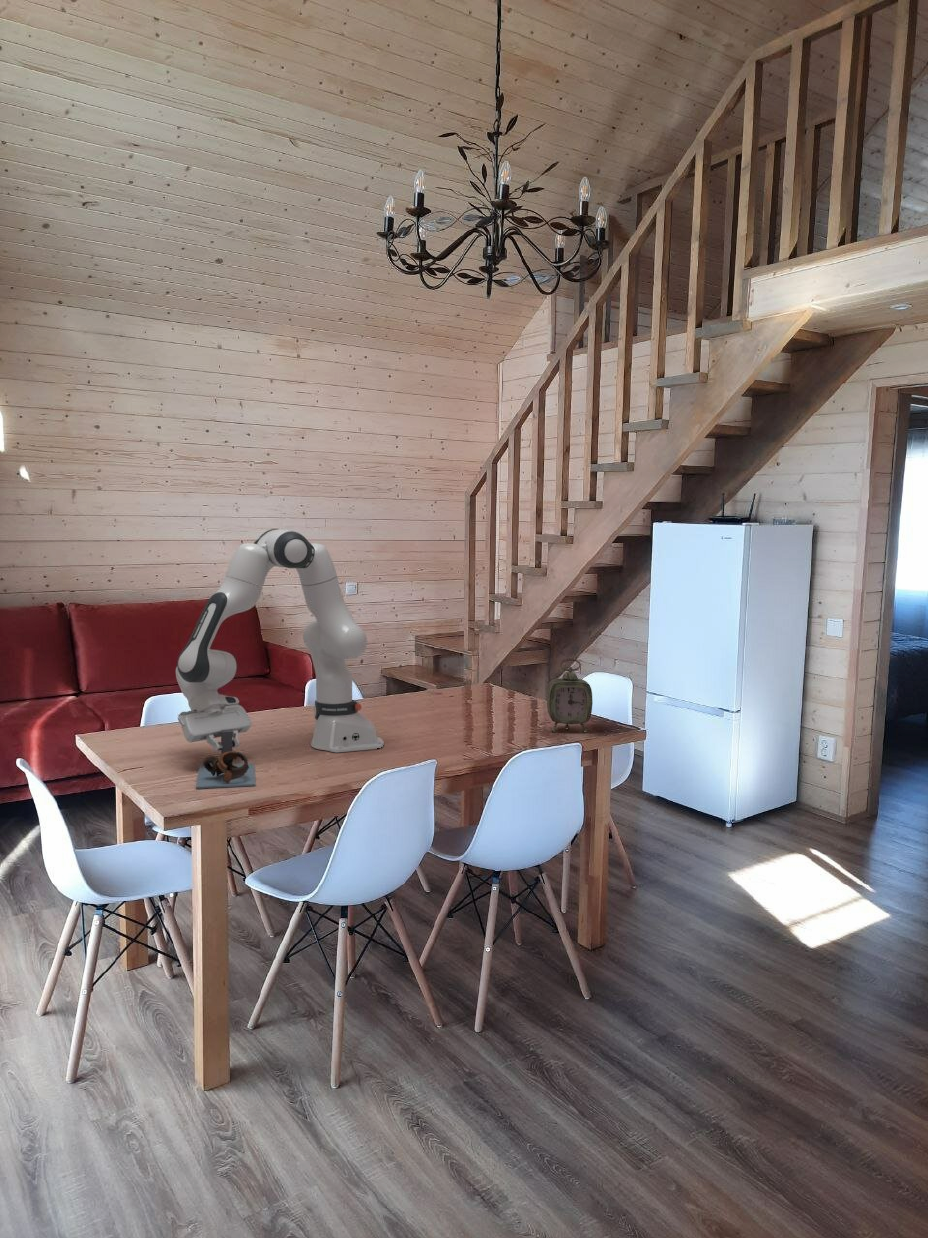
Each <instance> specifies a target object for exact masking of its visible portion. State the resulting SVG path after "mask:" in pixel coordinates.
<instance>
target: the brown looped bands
mask: <svg viewBox="0 0 928 1238" xmlns="http://www.w3.org/2000/svg"><path fill="white" fill-rule="evenodd" d="M238 758H240V759H241V761H243V762H244V765H243V766H241V767H239V768H238V767H237V766H234V765H232V761H234V760H237V759H238ZM202 763H203V764H202V765H204V767H205V768H206V769H207V770H208V771H209V772H211V774H212V775H213V776H215V773H216V776H218V775H220V774H221V773H225V776H224V778H223V781H224V782H226V783H229V782H230V781H231V779H232V780H233V779H236V778H238V777H241V776H243V775H245V773H246V772H247V770H248V769H249V765H248V763H249V760H248V758H247V756H246V755H245V754H243V753H242V752H239V751H233V750H232V751H230V752H229V751H228V752H225V753H223V754H222V755H220V756H219V757H215V756H206V757H205V758H204V760H203V761H202ZM211 765H212V766H213V767H212V766H211Z"/></svg>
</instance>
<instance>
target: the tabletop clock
mask: <svg viewBox="0 0 928 1238" xmlns="http://www.w3.org/2000/svg"><path fill="white" fill-rule="evenodd" d="M566 661H568V662H569V661H572V662H576V663H577V664H578V667H575V668H572V666H569V667H568V668H565V667H563V665H562V664H563V663H564V662H566ZM559 667H560V669H562V670H564V671H565V672H564V673H563V674H562V677H561V678H555V679H552V680H550V681H549V684H548V688H547V692H546V707H547V713H548V716H549V718H550V719H551V721H552V722H553V723H554V726H553V727H552V728H551V729H550V732H552V731H553V732H552V733H556V732H557V729H556V728H557V726H558V724H563V725H565V726H564V729H565V728H569V729H570V726H569V725H578V724H579V725H580V726H581V728H582V732H583V731H587V732H588V728H586V727H585V726H584V725H585V723H588V722H589V721H590V719H591V717H592V713H593V712H592V711H593V702H594V701H593V691H592V687H591V685H590V683H588V681H587V680H585V679H581V678H578V675H577V674H576V673H575V671H578V670H579V669H581V662H580V661H579V660H578V659H576V658H565V659H563V660H561V662H560V663H559Z"/></svg>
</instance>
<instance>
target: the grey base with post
mask: <svg viewBox="0 0 928 1238" xmlns="http://www.w3.org/2000/svg"><path fill="white" fill-rule="evenodd" d="M232 740H233V737H232V729H227V730H221V737H220V742H221V745H222V746H223V748H222V749H221V750H220V754H221V755H222V754H223V753H225V752H228V751H229V752H230V751H233V747H232ZM221 755H220V756H221ZM233 761H234V760H233ZM233 761H232V765H234V766H237V767H238V768H239V767H241V766H243V765H244V763H243V762H242V763H233ZM210 765H211V766H212V764H210ZM248 765H249V769H248V770H247V772H246V773H245V775H243V776H241V777H238V778H236V779H233V780H232V779H231V781H230V782H229V783H226V782H224V781H223V778H224V776H225V773H221V774H220V775H218V776H216V773H215V776H213V775H212V774H211V772H209V771H208V770H207V769H206V768H205V767H204V764H200V765H199V766H198V771H197V772H198V773H197V779H196V784H195V789H196V790H200V789H201V790H202V789H222V788H223V789H224V788H241V787H256V773H255V772H256V770H255V768H256V767H255V762H248ZM212 767H213V766H212Z"/></svg>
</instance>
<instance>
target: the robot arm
mask: <svg viewBox="0 0 928 1238" xmlns="http://www.w3.org/2000/svg"><path fill="white" fill-rule="evenodd" d="M274 567H278V568H286V569H295V570H296V572H297V574H298V576H299V582H300V585H301V588H302V592H303V596H304V600H305V603H306V604H305V605H306V607H307V609H308V610H309V612H310V613H311V614H312V615H313V616H314V618H315V619H316V620H313V621H309V623H308V624H307V625H306V626H305V628H304V630H303V634H302V640H303V643H304V644H305V645H304V646H306V648H307V649H308V651H309V653H310V657H311V660H312V664H313V669H314V673H315V684H316V685H315V689H316V690H315V691H316V693H315V697H316V699H315V701H314V706H313V707H314V713H313V714H314V719H315V723H314V730H313V736H312V740H311V742H310V746H311V748H313V749H317V750H323V751H328V752H332V753H345V752H348V753H349V752H356V751H357V752H359V751H368V750H369V751H370V750H377V748H380V749H382V748H383V747H384V746H383V745H384V744H385V743H384V740H383V738H381V737H380V736H377V730H376V726H375V724H374V723H373V722H372V721H371V720H370V719H368V718H367V717H366V716H364V714H362V713H360V712H359V711H362V705H361V704H360V703H359V702H358V701H356V700H354V699H353V675H352V673H351V671H350V670H349V669H348V666H347V664H346V660H351V659H355V658H356V659H357V658H359V657H360V656H362V655H363V654H364V652H366V651H365V650H366V649H367V645H368V637H367V634H366V632H365V630H363V629H362V628H361V627H360V626H359V625H358V623H357V622H356V620H355V619H354V617H353V615H352V613H351V611H350V609H349V608H348V606H347V604H346V601H345V599H344V597H343V593H342V590H341V587H340V586H341V585H340V581H339V579H338V575H337V574H338V573H337V571H336V568H335V565H334V561H333V559H332V558H331V555H330V553H329V550H328V548H327V547H326V546H325V545H324V544H321V543H317V542H312V543H311V542H310V541H309V540H308V539H307V537H305V536H304V535H302V534H301V533H299V532H297V531H294V530H291V529H285V528H281V529H279V528H271V529H267V530H266V531H265V532H263V533H262V534H261V535H260V536H259V537H258V538H257V539H256V540H255V541H254V542H246V543H241V544H240V545H239V546H238V547H237V548H236V550H235V552H234V553H233V556H232V558H231V560H230V562H229V564H228V567H227V570H226V573H225V575H224V579H223V581H222V583H221V585H220V587H219V588H218V589H217V591H215V593H214V594H212V595H211V596H210V597H209V599H208V601H207V602H206V604H205V606H204V608H203V609H202V612H201V614H200V616H199V618H198V620H197V623H196V625H195V626H194V629H193V631H192V633H191V635H190V637H189V639H188V642H186V645H185V646H184V648H183V649H182V650H181V651H180V654H179V656H178V657H177V660H176V661H177V662H176V667H175V678H176V681H177V684H178V687H179V688H180V690H181V693H182V694H183V696H184V697H185V698H186V699H187V701H188V703H187V704H188V707H189V708H190V710H187V711H181V712H180V713H179V714H178V715H177V720H178V723H179V724H180V726H181V729H182V733H183V736H184V738H185V740H186V741H187V742H188V743H195V742H196V743H197V742H200V741H206V742H207V744H209V745H210V746H212V747H213V749H214V750H215V752H219V751H221V749H222V748H223V746H222V745H221V741H219V742H218V741H217V740H216V739H217V738H221V730H227V729H232V748H236V747H239V746H240V741H239V739H238V738H239V734H241V733H247V732H248V731H249V730H250V728H251V727H252V720H251V717H250V716H249V714H248V712H247V711H246V710H245V708H244V706H242V705H240V704H239V703H240V700H239V698H238V697H237V696H228V695H226V694H225V695H224V694H220V693H219V692H218V689H221V688H223V687H225V686H226V685H227V684H229V683H230V682H231V681H232V680H233V679H234V678H235V676H236V674H237V671H238V663H237V660H236V657H235V656H234V655H233V654H232V653H230V652H228V651H224V650H218V649H211V646H212V644H213V641H214V640H215V638H216V636H217V633H218V630H219V629H220V626H221V625H222V623H223V622H224V621H225V620H226V619H227V618H230V617H231V616H234V615H236V614H239V613H244V612H246V611H247V612H248V611H249V610H250V609H252V608H254V607H255V606H256V604H257V603H258V602H259V599H260V598H261V594H262V591H263V587H264V584H265V581H266V577H267V575H268V574H269V572H270V571H271V569H273V568H274ZM381 747H382V748H381Z"/></svg>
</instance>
